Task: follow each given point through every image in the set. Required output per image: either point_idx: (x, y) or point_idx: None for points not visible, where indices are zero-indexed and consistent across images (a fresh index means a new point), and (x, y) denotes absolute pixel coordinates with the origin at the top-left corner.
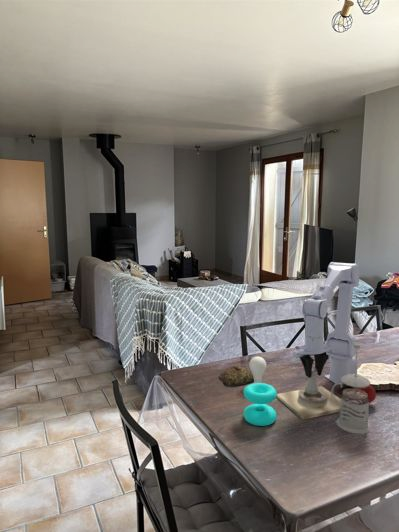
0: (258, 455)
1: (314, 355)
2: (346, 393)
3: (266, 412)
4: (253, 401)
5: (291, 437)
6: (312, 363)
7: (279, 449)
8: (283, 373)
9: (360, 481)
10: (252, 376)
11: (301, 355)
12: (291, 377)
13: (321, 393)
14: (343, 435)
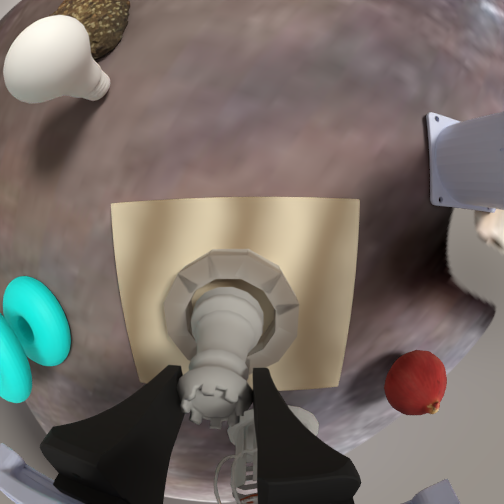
0: (42, 407)
1: (258, 465)
2: (257, 499)
3: (35, 357)
4: None
5: (96, 409)
6: (160, 493)
7: (71, 417)
8: (274, 10)
9: (171, 495)
10: (101, 40)
11: (55, 494)
12: (288, 48)
13: (275, 328)
14: (214, 450)
